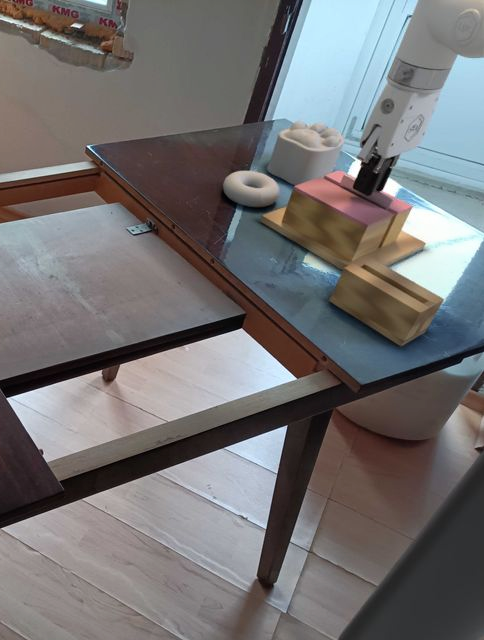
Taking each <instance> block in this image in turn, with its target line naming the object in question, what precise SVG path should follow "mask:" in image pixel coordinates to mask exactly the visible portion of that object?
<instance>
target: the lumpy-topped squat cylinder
mask: <svg viewBox="0 0 484 640" xmlns="http://www.w3.org/2000/svg"><path fill="white" fill-rule="evenodd" d="M344 142H345V139H344V136H343V135H342V133H340V132H339V131H338V129H336V128H335V127H329V126H326V124H324V123H322V122H317V123H314V124H308V123H305V122H303V121H301V120H297V121H295V122H293V123H292V125H290V127H287V128H285V129H283V130H281V131H279V132H278V135H277V138H276V140H275V144H274V146H273V149H272V152H271V157H270V159H269V162H268V165H267V169H266V170H267V172H268V173H270V174H271V175H273V176H275V177H278V178H281V179H282V180H284V181H286V182H288V183H289V184H290V185H292V186H293V185H294V186H296V185H299V184H302V183H304V182H307V181H310V180H313V179H316V178H319V177H321V178H323V179H324V176H325V175H327V174H330V173H333V172H334V169H335V167H336V164H337V161H338V159H339V157H340V154H341V151H342V149H343V147H344Z"/></svg>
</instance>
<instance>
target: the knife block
mask: <svg viewBox="0 0 484 640" xmlns="http://www.w3.org/2000/svg"><path fill="white" fill-rule="evenodd" d="M341 271H342V272H341V274H340V275H339V278H338V280H337V282H336V285H335V287H334V289H333V290H332V294H331V296H330V298H329V301H328V302H330V303H331V304H333V305H335V306H336V307H338V308H340V309H341V310H343V311H344V312H346V313H347V314H349V315H351V316H352V317H354V318H355V319H357V320H359V321H360V322H362V323H363V324H365V325H366V326H368V327H369V328H371V329H373V330H374V331H375V332H377V333H379V334H381V335H382V336H384V337H385V338H387V339H389V340H390V341H392V342H393V343H395V345H398V346H399V347H403V346H405V345H406V344H408V343H410V342H411V341H412V340H414V339H416V338H418V337H420V336H421V335H423V334H425V333H426V331H427V330H428V328H429V327H430V324H431V323H432V321H433V320H434V318H435V316H436V314H437V313H438V311H439V310H440V308H441V306H442V304H443V303H444V301H445V298H443V297H441V296H440V295H438V294H436V293H435V292H432V291H431V290H429V289H427V288H426V287H423V286H422V285H420V284H418V283H416V282H415V281H413V280H411V279H409V278H408V277H406V276H404V275H402V274H400V273H399V272H397V271H395V270H393V269H392V268H390V267H389V266H387V267H386V266H385V265H383V264H381V263H379V262H377V261H376V260H374V259H372V258H370V257H366V258H364V259H362V260H360V261H358V262H356V263H353V264H351V265H349V266H347V267H345V268H344V269H343V270H341Z"/></svg>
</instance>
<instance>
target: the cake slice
mask: <svg viewBox="0 0 484 640" xmlns="http://www.w3.org/2000/svg"><path fill="white" fill-rule="evenodd" d="M344 174H346V175H348V176H350V177H352V178H354V179H356V177H355V176H353V175H351V174H349V173H346V172H344V171H342V170H341V169H340V170H336V171H333V172H332V173H330V174H327V175H325V176H324V179H325V180H327V181H329V182H331V183H333V184H335V185H337V186H339V185H340V182H341V180H342V178H343V175H344ZM380 192H381V193H383V194H385V195H387V196H389V197H391V198H393V201H392V203H391V205H390V207H389V209H388V212H390V213H392V214H394V215H393V217H392V219H391V221H390V223H389V225H388V227H387V230H386V232H385V234H384V236H383V238H382V240H381V242H380V244H379V247H381V248H382V247H384V246H386V245H388V244H390V243H392V242H395V241H396V239H397V237H398V235H399V233H400V231H401V230H402V229H403V228H404V225H405V224H406V221H407V219H408V218H409V215H410V213H411V211H412V209H413V207H414V206H413V205H412V204H410V203H408V202H406V201H403V200H402V199H401V198H400V199H399V198H397V197H396V196H394V195H391V194H390V193H387V192H385V191H384V190H382V191H380Z"/></svg>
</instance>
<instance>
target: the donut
mask: <svg viewBox="0 0 484 640" xmlns="http://www.w3.org/2000/svg"><path fill="white" fill-rule="evenodd" d="M222 188H223V192H224V194H225V195H226V196H227V198H228V199H230V200H231V201H233V202H234V203H236V204H239V205H241V206H245V207H249V208H266V207H268V206H271V205H272V204H274V203H275V202H276V201H277V200H278V198H279V195H280V191H281V190H280V187H279V185H278V183H277V182H276V181H275V180H274V179H273V178H272V177H270V176H268V175H267V174H264V173H261V172H259V171H258V172H257V171H255V170H238V171H234V172H232V173H230V174H229V175H227V176H226V177H225V179H224V181H223V184H222Z"/></svg>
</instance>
